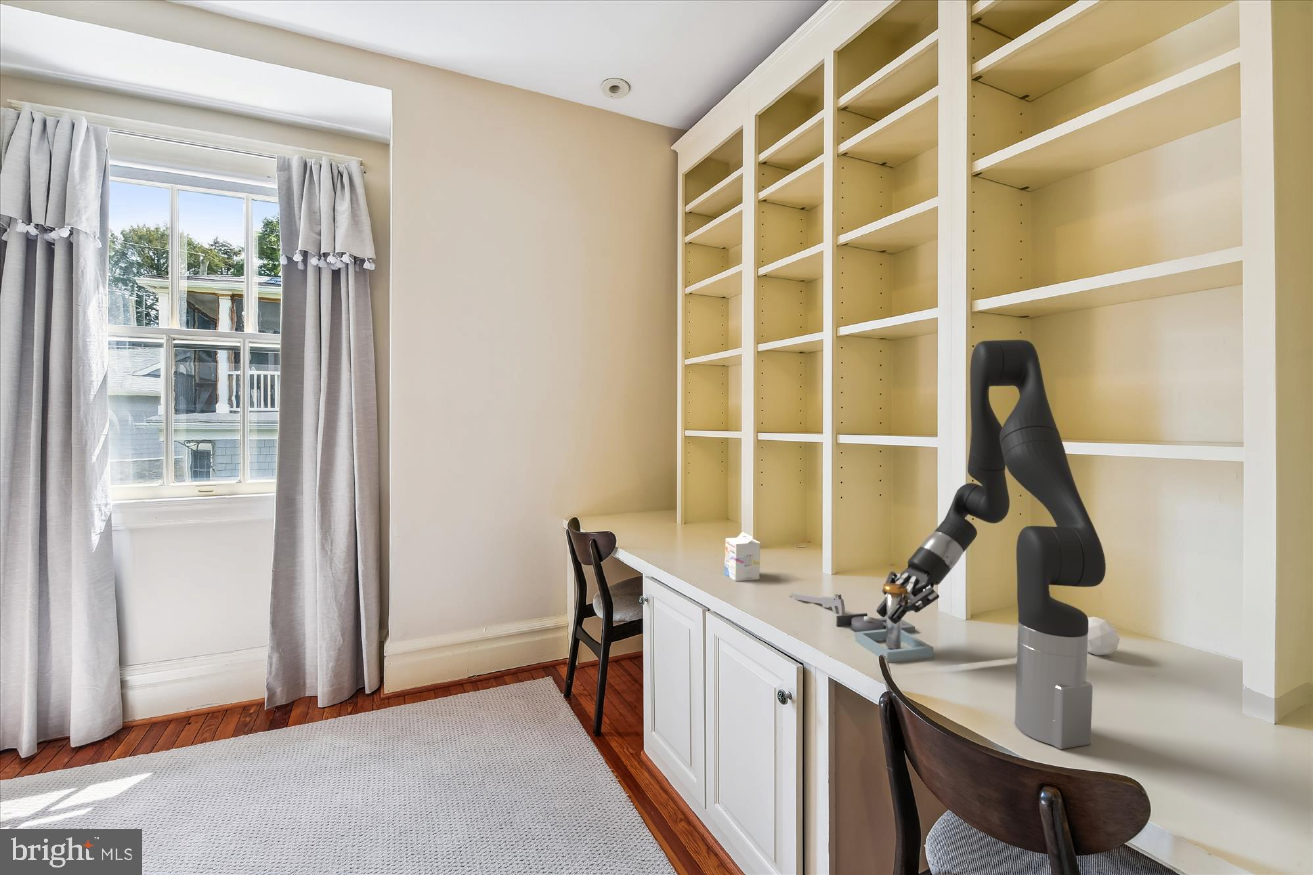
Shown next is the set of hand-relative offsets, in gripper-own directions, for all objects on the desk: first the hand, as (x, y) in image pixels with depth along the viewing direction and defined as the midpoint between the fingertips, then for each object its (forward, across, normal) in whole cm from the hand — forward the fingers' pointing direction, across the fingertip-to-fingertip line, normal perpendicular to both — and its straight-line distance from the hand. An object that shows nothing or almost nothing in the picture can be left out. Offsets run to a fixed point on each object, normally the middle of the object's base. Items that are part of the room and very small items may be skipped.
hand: (885, 617), depth 121 cm
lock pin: (+3, 0, +6) cm, 7 cm away
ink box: (+11, -61, +1) cm, 62 cm away
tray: (+4, 0, +7) cm, 8 cm away
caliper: (+5, -30, +6) cm, 31 cm away
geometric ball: (-26, +10, +38) cm, 47 cm away
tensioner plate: (+1, -10, +10) cm, 15 cm away
